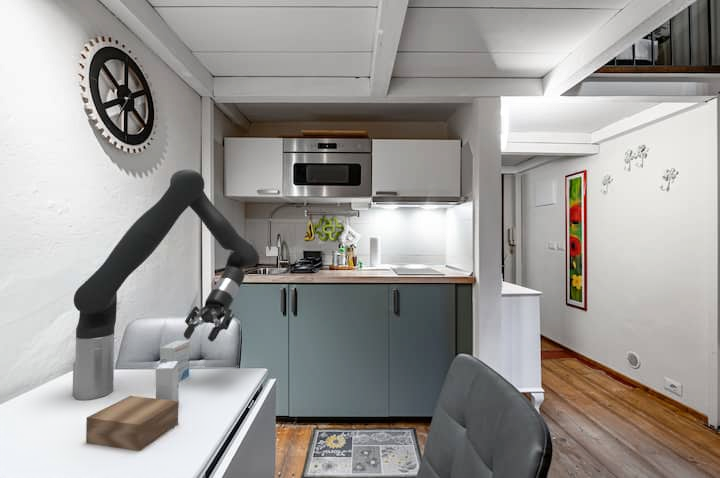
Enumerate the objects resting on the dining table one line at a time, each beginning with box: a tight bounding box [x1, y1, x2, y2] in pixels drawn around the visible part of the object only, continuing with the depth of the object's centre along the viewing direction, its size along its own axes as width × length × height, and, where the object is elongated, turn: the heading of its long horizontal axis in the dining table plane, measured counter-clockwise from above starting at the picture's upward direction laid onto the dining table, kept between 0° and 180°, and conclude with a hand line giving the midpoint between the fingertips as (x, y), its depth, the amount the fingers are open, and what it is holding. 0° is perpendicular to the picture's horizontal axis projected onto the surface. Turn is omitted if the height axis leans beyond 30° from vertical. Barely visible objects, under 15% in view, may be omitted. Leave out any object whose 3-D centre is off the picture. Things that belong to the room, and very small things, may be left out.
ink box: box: [159, 340, 191, 381], centre depth 120 cm, size 9×5×12 cm, turn 168°
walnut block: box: [85, 395, 179, 452], centre depth 87 cm, size 14×12×6 cm
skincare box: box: [155, 361, 180, 406], centre depth 99 cm, size 6×4×12 cm
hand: (198, 338), depth 110 cm, fingers open, 8 cm apart
